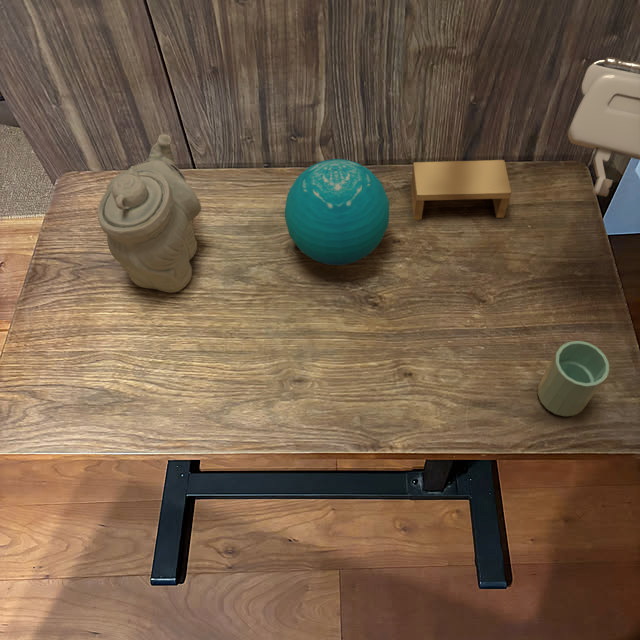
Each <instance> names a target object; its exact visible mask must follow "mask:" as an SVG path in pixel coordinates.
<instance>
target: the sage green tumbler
mask: <svg viewBox="0 0 640 640" xmlns="http://www.w3.org/2000/svg"><path fill="white" fill-rule="evenodd" d="M609 374H610V363H609V360H608V358H607V356H606V354H605V353H604V352H603V351H602V350H601V349H600V348H599V347H597V346H596V345H594V344H592V343H590V342H587V341H582V340H572V341H567V342H565V343H564V344H562V345H561V346H560V347H559V348H558V350H557V351H556V353H555V354H554V356H553V358H552V360H551V362H550V364H549V365H548V367H547V369H546V371H545V373H544V375H543V376H542V378H541V380H540V382H539V383H538V386H537V396H538V399H539V401H540V403H541V404H542V405H543V407H544V408H545V409H547V411H549V412H551V413H552V414H554V415H557V416H562V417H573V416H576V415H577V414H579V413H581V412H582V411H583V410H584V409H585V407H587V405H588V403H589V402H590V400H591V399H592V398H593V397H594V395H595V394H596V393H597V392H598V390H599V388H600V387H601V386H602V385H603V383H604V382H605V381H606V379H607V377H608V376H609Z"/></svg>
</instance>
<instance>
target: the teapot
mask: <svg viewBox="0 0 640 640" xmlns="http://www.w3.org/2000/svg"><path fill="white" fill-rule="evenodd" d="M171 144H172V138H171V136H170V135H169V134H165V133H163V134H160V135H159V136H158V138H157V142H156V143H155V144H153V146H152V147H151V149H150V152H149V155H148V159H146V160H144V161H141V162H139V163H137V164H135V165H131V166H130V168H128V169H126V170H124V171H122V172H120V173H118V174H117V175H115V176H114V177H112V178H111V179H110V181H109V182H108V184H107V185H106V190H105V192H104V194H103V195H102V197H101V199H100V201H99V203H98V207H97V222H98V223H99V226H100V228H101V229H102V231H103V232H104V233H105V234H106V242H107V247H108V250H109V252H110V254H111V255H112V256H113V258H114V260H116V261H117V262H118V263H119V265H120V267H121V268H122V269H123V270H124V271H125V272H127V273H128V276H129V279H130V280H131V281H132V283H133V284H134V285H136V286H138V287H141V288H144V289H154V290H158V291H161V292H164V293H177V292H180V291H182V289H184V288H185V287H186V286H187V285H188V284H189V283H190V281H191V280H192V277H193V267H192V264H191V262H190V261H191V260H192V258H193V257H194V256H195V254H196V252H197V250H198V241H197V239H196V237H195V229H194V225H193V222H192V221H193V220H194V219H195V218H196V217H197V216H198V215H199V214H200V212H201V211H202V205H201V202H200V200H199V198H198V196H197V194H196V193H195V191H194V190H193V188H192V187H191V186H190V184H189V183H188V182H187V179H186V176H185V175H184V173H183V172H182V171H181V170H180V168H179V167H177V165H176V163H175V162H176V161H175V158H174V155H173V152H172V149H171Z"/></svg>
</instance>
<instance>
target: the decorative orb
mask: <svg viewBox="0 0 640 640" xmlns="http://www.w3.org/2000/svg"><path fill="white" fill-rule="evenodd" d="M284 219H285V224H286V228H287V230H288V235H289V237H290V239H291V240H292V241H293V243H294V244H295V246H297V248H298V249H299V250H300V251H301V253H303V254H304V255H306V256H307V257H308V258H310V259H311V260H313V261H314V262H318V263H321V264H325V265H329V266H345V265H350V264H354V263H357V262H358V261H360V260H362V259H364V258H365V257H368V256H369V255H370V254H371V253H372V252H373V251H374V250H375V249H376V248H377V247H378V246H379V245H380V243H381V242H382V240H383V238H384V235H385V234H386V232H387V229H388V227H389V222H390V201H389V197H388V195H387V193H386V190H385V188H384V185H383V184H382V181H380V179H379V178H378V177H377V176H376V175H375V174H374V173H373V172H372V171H371V170H370V169H369V168H367V167H365V166H363V165H362V164H360V163H359V162H357V161H353V160H349V159H345V158H331V159H326V160H321V161H319V162H317V163H314V164H312V165H310V166H309V167H307V168H306V169H305V170H304V171H302V172H301V173H300V174H299V175H298V176H297V177H296V179H295V181H294V182H293V184H292V185H291V186H290V188H289V190H288V192H287V196H286V200H285V206H284Z"/></svg>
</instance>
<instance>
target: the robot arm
mask: <svg viewBox="0 0 640 640" xmlns="http://www.w3.org/2000/svg"><path fill="white" fill-rule="evenodd" d="M580 94H581V96H582V99H581V101H580V102H579V105H578V107H577V109H576V110H575V113H574V116H573V117H572V120H571V123H570V125H569V128H568V130H567V134H566V136H567V138H568V140H569V142H570V144H572V145H576V146H580V147H584V148H588V149H591V150H595V153H594V155H593V159H592V163H593V167H594V172H595V176H596V177H595V178H597V179H596V181H595V184H594V186H593V188H592V193H591V194H592V195H593V194H594V195H597V196H601V197H606V198H607V197H608V195H609V193H610V188H611V187H612V185H613V182H614V180H613V179H609V178H607V177H606V171H605V167H604V163H607V162H608V161H609V160H610V158H611V155H612V154H613V155H617V156H621V157H626V158H630V159H634V160H638V161H640V62H639V61H631V60H623V59H620V58H618V57H614V56H606V57H605V58H604V59H598V60H596V61H594V62H592V63H590V65H588V66H587V68H586V69H585V72H584V75H583V77H582V80H581V83H580Z"/></svg>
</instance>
